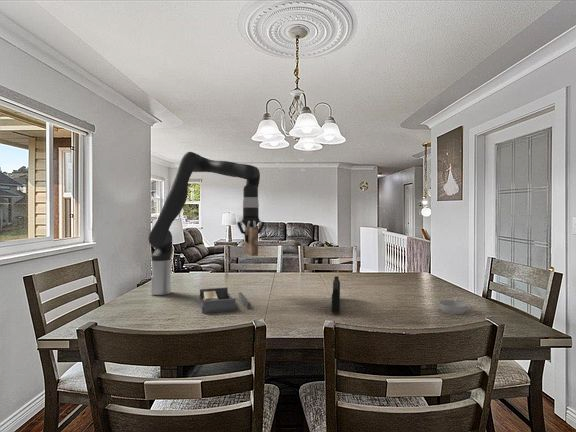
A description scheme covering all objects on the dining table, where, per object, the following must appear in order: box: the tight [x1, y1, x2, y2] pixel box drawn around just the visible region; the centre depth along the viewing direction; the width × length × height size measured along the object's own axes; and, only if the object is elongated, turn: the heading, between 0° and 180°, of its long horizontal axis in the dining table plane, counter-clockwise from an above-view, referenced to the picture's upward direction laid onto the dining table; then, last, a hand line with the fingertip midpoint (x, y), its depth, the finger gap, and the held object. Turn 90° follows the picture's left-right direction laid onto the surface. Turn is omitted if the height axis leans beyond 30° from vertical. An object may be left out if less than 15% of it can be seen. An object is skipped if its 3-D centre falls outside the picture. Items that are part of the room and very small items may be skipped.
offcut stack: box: [203, 291, 219, 302], centre depth 163 cm, size 6×18×5 cm, turn 15°
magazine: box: [331, 276, 341, 314], centre depth 160 cm, size 17×3×30 cm
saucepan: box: [438, 296, 468, 315], centre depth 155 cm, size 11×18×4 cm, turn 148°
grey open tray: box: [198, 287, 251, 315], centre depth 164 cm, size 20×25×5 cm
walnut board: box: [243, 225, 259, 257], centre depth 176 cm, size 3×18×13 cm, turn 17°
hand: (250, 242), depth 176 cm, fingers closed on walnut board, 3 cm apart
